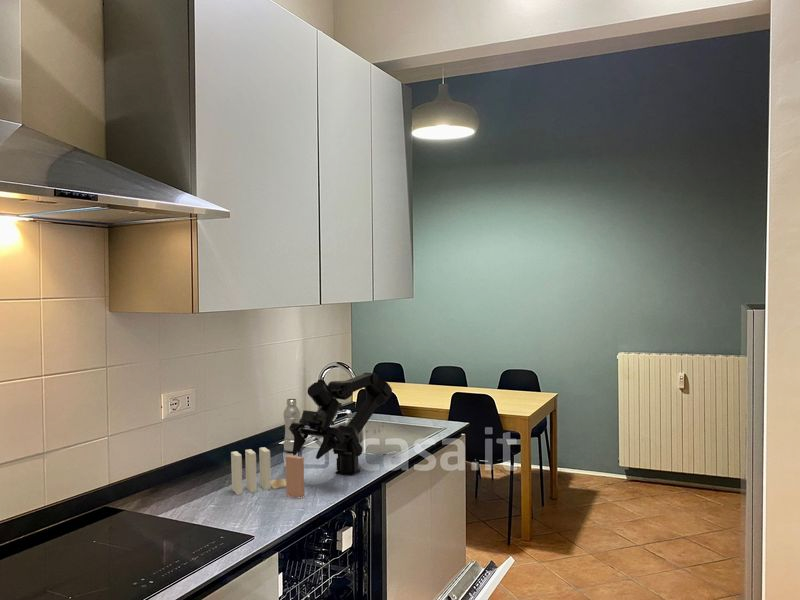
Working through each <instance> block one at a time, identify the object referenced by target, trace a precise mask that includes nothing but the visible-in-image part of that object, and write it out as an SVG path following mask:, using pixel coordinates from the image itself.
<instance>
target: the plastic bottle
mask: <svg viewBox="0 0 800 600" xmlns="http://www.w3.org/2000/svg"><path fill="white" fill-rule="evenodd" d="M286 405H287V406H286V408H285V409H284V411H283V420H284V440H283V441H284V442H283V448H284V450H285V452H288V453H289V452H290V453H293V445H294V435H293V434H292V433H291V431H290V430H289V427H290V425H291V424H292V423H300V421H301V419H300V418H301V411H300V408H299V407H298V406H297V398H287V399H286Z"/></svg>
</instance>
